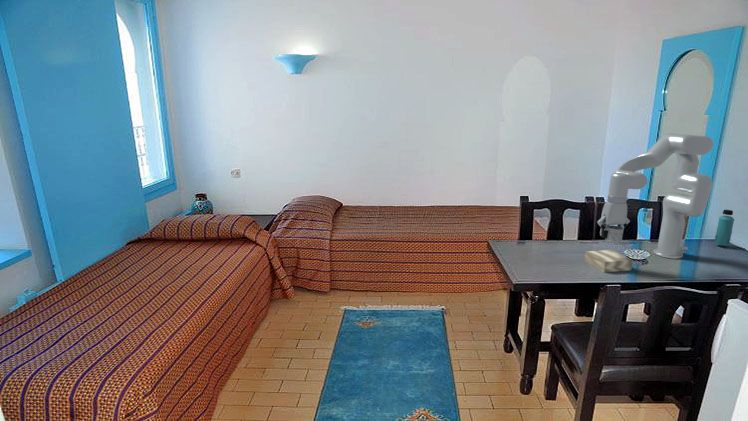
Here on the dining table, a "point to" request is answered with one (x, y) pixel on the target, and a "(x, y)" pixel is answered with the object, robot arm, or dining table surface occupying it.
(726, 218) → the beverage bottle
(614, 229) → the mug
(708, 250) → the dining table surface
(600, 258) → the base block
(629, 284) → the dining table surface
